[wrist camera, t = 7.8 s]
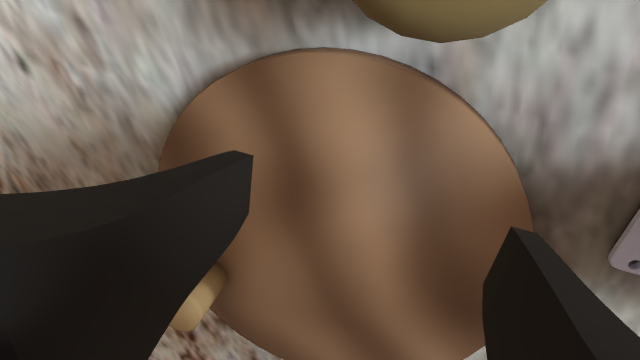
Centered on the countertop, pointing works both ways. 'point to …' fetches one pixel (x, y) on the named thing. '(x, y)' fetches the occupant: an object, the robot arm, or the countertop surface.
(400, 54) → the countertop surface
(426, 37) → the olive pawn piece
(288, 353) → the disc
